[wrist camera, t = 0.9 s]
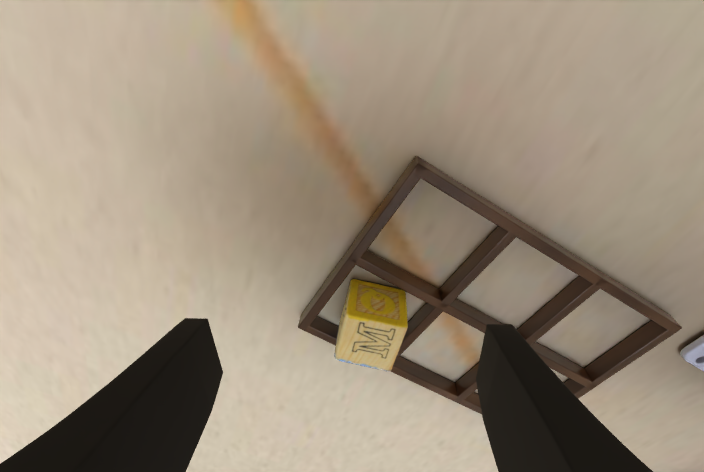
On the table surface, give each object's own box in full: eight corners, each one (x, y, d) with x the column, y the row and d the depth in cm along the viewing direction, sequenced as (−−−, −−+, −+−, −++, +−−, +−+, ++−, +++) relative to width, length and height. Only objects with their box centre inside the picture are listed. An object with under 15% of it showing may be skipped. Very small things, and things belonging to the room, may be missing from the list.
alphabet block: (338, 319, 22) (333, 361, 19) (349, 276, 20) (345, 316, 18) (390, 330, 22) (392, 373, 19) (405, 288, 20) (410, 329, 18)
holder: (670, 314, 20) (683, 328, 20) (520, 420, 25) (525, 435, 25) (416, 154, 17) (418, 162, 16) (300, 315, 22) (297, 328, 21)
